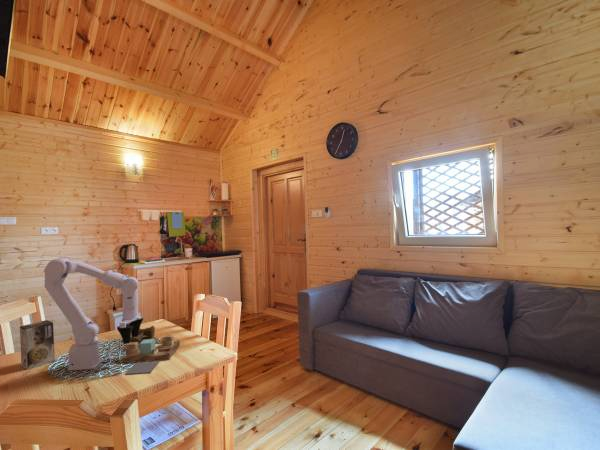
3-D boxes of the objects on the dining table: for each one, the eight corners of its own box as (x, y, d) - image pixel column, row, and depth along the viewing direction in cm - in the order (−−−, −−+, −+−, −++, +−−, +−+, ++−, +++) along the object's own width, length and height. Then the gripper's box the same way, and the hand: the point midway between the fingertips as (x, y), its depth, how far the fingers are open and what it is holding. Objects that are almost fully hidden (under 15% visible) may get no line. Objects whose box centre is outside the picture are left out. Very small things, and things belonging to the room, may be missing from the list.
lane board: (121, 362, 122) (121, 356, 122) (136, 348, 136) (136, 342, 136) (169, 359, 124) (169, 353, 124) (179, 345, 138) (179, 340, 138)
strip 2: (144, 350, 131) (144, 338, 131) (148, 346, 135) (148, 335, 135) (171, 348, 132) (171, 337, 132) (174, 345, 136) (174, 334, 136)
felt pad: (125, 374, 112) (124, 373, 112) (135, 363, 121) (135, 362, 121) (150, 373, 113) (150, 372, 113) (159, 362, 122) (159, 361, 122)
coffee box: (48, 357, 129) (47, 319, 129) (55, 360, 126) (54, 321, 126) (20, 366, 121) (19, 326, 121) (26, 370, 118) (25, 328, 118)
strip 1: (124, 357, 124) (124, 345, 124) (129, 353, 128) (128, 341, 128) (154, 355, 125) (154, 343, 125) (158, 351, 129) (157, 340, 129)
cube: (139, 354, 125) (139, 343, 125) (144, 350, 129) (143, 339, 129) (151, 354, 125) (150, 343, 125) (155, 349, 129) (155, 338, 129)
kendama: (121, 351, 135) (137, 334, 155) (145, 349, 137) (157, 332, 157) (121, 337, 135) (137, 322, 155) (145, 336, 137) (157, 321, 157)
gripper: (132, 311, 119) (133, 346, 119) (147, 302, 134) (148, 333, 134) (113, 312, 119) (114, 347, 119) (130, 302, 133) (131, 333, 133)
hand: (131, 339), depth 126 cm, fingers open, 7 cm apart
